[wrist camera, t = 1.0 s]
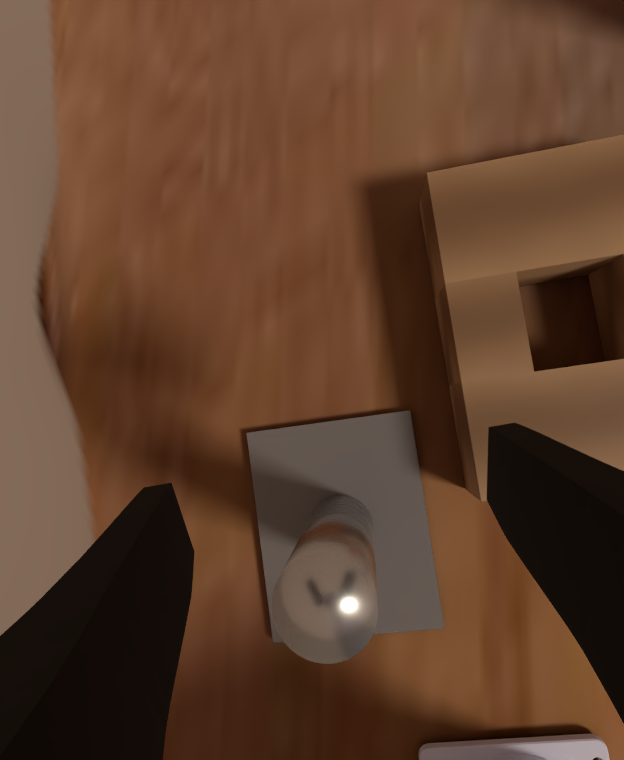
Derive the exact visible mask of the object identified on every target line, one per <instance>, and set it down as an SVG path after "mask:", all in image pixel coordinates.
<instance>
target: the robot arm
mask: <svg viewBox="0 0 624 760" xmlns="http://www.w3.org/2000/svg"><path fill="white" fill-rule="evenodd" d="M487 501H488V503H489V505H490V507H491V509H492V511H493V513H494V515H495V517H496V519H497V521H498V523H499V525H500V527H501V529H502V530H503V532H504V534H505V536H506V538H507V539H508V541H509V542H510V544H511V545H512V547H513V548H514V550H515V551H516V553H517V554H518V556H519V557H520V559H521V560H522V562H523V563H524V565H525V566H526V567H527V569H528V570H529V572H530V573H531V575H532V576H533V578H534V579H535V580H536V582H537V583H538V585H539V586H540V588H541V589H542V591H543V592H544V593H545V595H546V596H547V598H548V599H549V601H550V602H551V603H552V605H553V606H554V608H555V609H556V611H557V612H558V614H559V615H560V616H561V618H562V619H563V621H564V622H565V624H566V625H567V627H568V628H569V629H570V631H571V633H572V634H573V636H574V637H575V639H576V640H577V642H578V644H579V645H580V647H581V648H582V650H583V651H584V653H585V655H586V657H587V658H588V660H589V662H590V664H591V666H592V667H593V669H594V671H595V673H596V674H597V676H598V678H599V680H600V681H601V683H602V685H603V687H604V689H605V690H606V692H607V694H608V696H609V697H610V699H611V701H612V703H613V705H614V706H615V708H616V710H617V712H618V714H619V716H620V718H621V719H622V721H623V723H624V471H622V470H620V469H618V468H615V467H613V466H611V465H608V464H606V463H604V462H602V461H599V460H597V459H595V458H593V457H591V456H588V455H586V454H584V453H582V452H580V451H578V450H575V449H573V448H571V447H569V446H567V445H565V444H562V443H560V442H558V441H556V440H554V439H552V438H550V437H547V436H545V435H543V434H541V433H539V432H537V431H534V430H532V429H530V428H527V427H525V426H523V425H520V424H517V423H509V424H504V425H498V426H492V427H488V464H487ZM193 564H194V550H193V547H192V544H191V541H190V538H189V535H188V532H187V529H186V526H185V523H184V520H183V517H182V513H181V510H180V507H179V504H178V501H177V498H176V495H175V492H174V489H173V486H172V483H168V484H162V485H156V486H151V487H145V488H143V489H142V490H141V491H140V492H139V493H138V494H137V495H136V496H135V498H134V499H133V500H132V501H131V502H130V503H129V504H128V505H127V507H126V508H125V509H124V510H123V511H122V512H121V513H120V515H119V516H118V517H117V518H116V519H115V520H114V521H113V522H112V524H111V525H110V526H109V527H108V528H107V529H106V530H105V531H104V533H103V534H102V535H101V536H100V537H99V538H98V539H97V540H96V541H95V543H94V544H93V545H92V546H91V547H90V548H89V549H88V550H87V552H86V553H85V554H84V555H83V556H82V557H81V558H80V559H79V560H78V561H77V562H76V563H75V564H74V565H73V566H72V567H71V568H70V569H69V570H68V571H67V572H66V573H65V574H64V575H63V576H62V578H61V579H59V580H58V582H57V583H56V584H55V585H54V586H53V587H52V588H51V589H50V590H49V591H48V592H47V593H46V594H45V595H44V596H43V597H42V598H41V599H40V600H39V601H38V602H37V603H36V604H35V605H34V606H33V607H32V608H31V609H30V610H28V611H27V612H26V613H25V614H24V615H23V616H22V617H21V618H20V619H19V620H18V621H17V622H15V623H14V624H13V625H12V626H11V627H10V628H9V629H8V630H7V631H5V632H4V633H3V634H2V635H1V636H0V760H163V750H164V741H165V732H166V726H167V719H168V713H169V707H170V701H171V696H172V691H173V686H174V681H175V676H176V671H177V666H178V661H179V656H180V651H181V646H182V641H183V636H184V631H185V626H186V621H187V616H188V610H189V605H190V600H191V592H192V580H193ZM596 757H599V758H600V760H609V755H608V750H607V747H606V745H605V743H604V742H603V741H602V739H601V738H600V737H599V736H597V735H595V734H575V735H558V736H541V737H524V738H508V739H491V740H474V741H457V742H441V743H427V744H424V745H423V746H421V747H420V749H419V760H593V759H594V758H596Z"/></svg>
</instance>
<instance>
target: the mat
mask: <svg viewBox="0 0 624 760" xmlns="http://www.w3.org/2000/svg"><path fill="white" fill-rule="evenodd" d="M247 441H248V449H249V457H250V465H251V472H252V480H253V488H254V496H255V504H256V512H257V520H258V528H259V535H260V543H261V551H262V559H263V567H264V575H265V583H266V591H267V598H268V606H269V614H270V622H271V630H272V638H273V643H280V642H283V640H282V639H281V637H280V636H279V634H278V632H277V630H276V628H275V625H274V622H273V617H272V610H271V601H272V594H273V590H274V587H275V585H276V582H277V580H278V578H279V576H280V574H281V573H282V571H283V569H284V567H285V565H286V563H287V561H288V559H289V557H290V555H291V554H292V552H293V550H294V548H295V546H296V544H297V542H298V540H299V538H300V536H301V535H302V533H303V531H304V529H305V527H306V525H307V523H308V521H309V519H310V517H311V515H312V514H313V512H314V510H315V508H316V507H317V506H318V504H319V503H321V502H322V501H323V500H324V499H326V498H328V497H331V496H334V495H347V496H351V497H354V498H356V499H358V500H359V501H360V502H362V503H363V504H364V505H365V506H366V508H367V509H368V510H369V512H370V514H371V517H372V520H373V526H374V544H375V562H376V581H377V599H378V619H377V625H376V628H375V631H374V633H373V634H384V633H396V632H407V631H419V630H430V629H442V628H444V623H443V616H442V610H441V604H440V597H439V591H438V584H437V578H436V572H435V565H434V559H433V552H432V546H431V540H430V533H429V527H428V520H427V514H426V507H425V501H424V495H423V488H422V482H421V475H420V469H419V463H418V456H417V450H416V443H415V437H414V431H413V424H412V418H411V411H410V410H408V411H401V412H393V413H386V414H379V415H372V416H364V417H357V418H350V419H343V420H335V421H328V422H321V423H314V424H306V425H299V426H292V427H285V428H277V429H270V430H263V431H256V432H248V433H247Z"/></svg>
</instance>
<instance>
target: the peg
mask: <svg viewBox="0 0 624 760" xmlns="http://www.w3.org/2000/svg"><path fill="white" fill-rule="evenodd" d="M271 610H272V617H273V622H274V625H275V628H276V630H277V632H278V634H279V636H280V637H281V639H282V640H283V642H284V643H285V644H286V645H287V646H288V647H289V648H290V649H291V650H292V651H293V652H295V653H296V654H297V655H299V656H301V657H302V658H304V659H306V660H309V661H312V662H316V663H321V664H333V663H339V662H343V661H346V660H348V659H350V658H352V657H354V656H355V655H357V654H358V653H359V652H360V651H362V650H363V649H364V647H365V646H366V645H367V644H368V642H369V641H370V639H371V638H372V636H373V633H374V631H375V628H376V625H377V619H378V599H377V581H376V562H375V544H374V526H373V520H372V517H371V514H370V512H369V510H368V509H367V508H366V506H365V505H364V504H363V503H362V502H360V501H359V500H358V499H356V498H354V497H351V496H347V495H334V496H331V497H328V498H326V499H324V500H323V501H322V502H321V503H319V504H318V506H317V507H316V508H315V510H314V512H313V514H312V515H311V517H310V519H309V521H308V523H307V525H306V527H305V529H304V531H303V533H302V535H301V536H300V538H299V540H298V542H297V544H296V546H295V548H294V550H293V552H292V554H291V555H290V557H289V559H288V561H287V563H286V565H285V567H284V569H283V571H282V573H281V574H280V576H279V578H278V580H277V582H276V585H275V587H274V590H273V594H272V601H271Z"/></svg>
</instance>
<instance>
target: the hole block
mask: <svg viewBox="0 0 624 760" xmlns="http://www.w3.org/2000/svg"><path fill="white" fill-rule="evenodd" d="M419 207H420V213H421V219H422V225H423V231H424V237H425V243H426V250H427V256H428V262H429V268H430V274H431V280H432V286H433V292H434V298H435V305H436V311H437V317H438V323H439V329H440V335H441V341H442V347H443V354H444V360H445V366H446V372H447V378H448V384H449V390H450V396H451V403H452V409H453V415H454V421H455V427H456V433H457V439H458V445H459V451H460V458H461V464H462V470H463V476H464V482H465V488H466V490H468V491H469V492H470V493H471V494H473V495H474V496H475V497H476V498H478V499H479V500H480V501H481V502H482V501H487V464H488V427H492V426H498V425H504V424H509V423H517V424H520V425H523V426H525V427H527V428H530V429H532V430H534V431H537V432H539V433H541V434H543V435H545V436H547V437H550V438H552V439H554V440H556V441H558V442H560V443H562V444H565V445H567V446H569V447H571V448H573V449H575V450H578V451H580V452H582V453H584V454H586V455H588V456H591V457H593V458H595V459H597V460H599V461H602V462H604V463H606V464H608V465H611V466H613V467H615V468H618V469H620V470H622V471H624V135H619V136H614V137H609V138H604V139H599V140H593V141H588V142H583V143H578V144H573V145H568V146H562V147H557V148H552V149H547V150H542V151H536V152H531V153H526V154H521V155H516V156H511V157H505V158H500V159H495V160H490V161H485V162H479V163H474V164H469V165H464V166H459V167H453V168H448V169H443V170H438V171H433V172H428V173H427V174H426V178H425V182H424V186H423V190H422V194H421V198H420V202H419ZM587 275H588V277H589V282H590V287H591V293H592V298H593V303H594V308H595V313H596V319H597V324H598V329H599V334H600V340H601V345H602V350H603V355H604V360H605V362H598V363H591V364H584V365H577V366H570V367H563V368H556V369H549V370H542V371H535V372H534V368H533V362H532V357H531V351H530V346H529V340H528V334H527V329H526V323H525V318H524V312H523V306H522V301H521V295H520V290H519V286H525V285H531V284H538V283H544V282H550V281H556V280H562V279H568V278H574V277H581V276H587Z"/></svg>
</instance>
